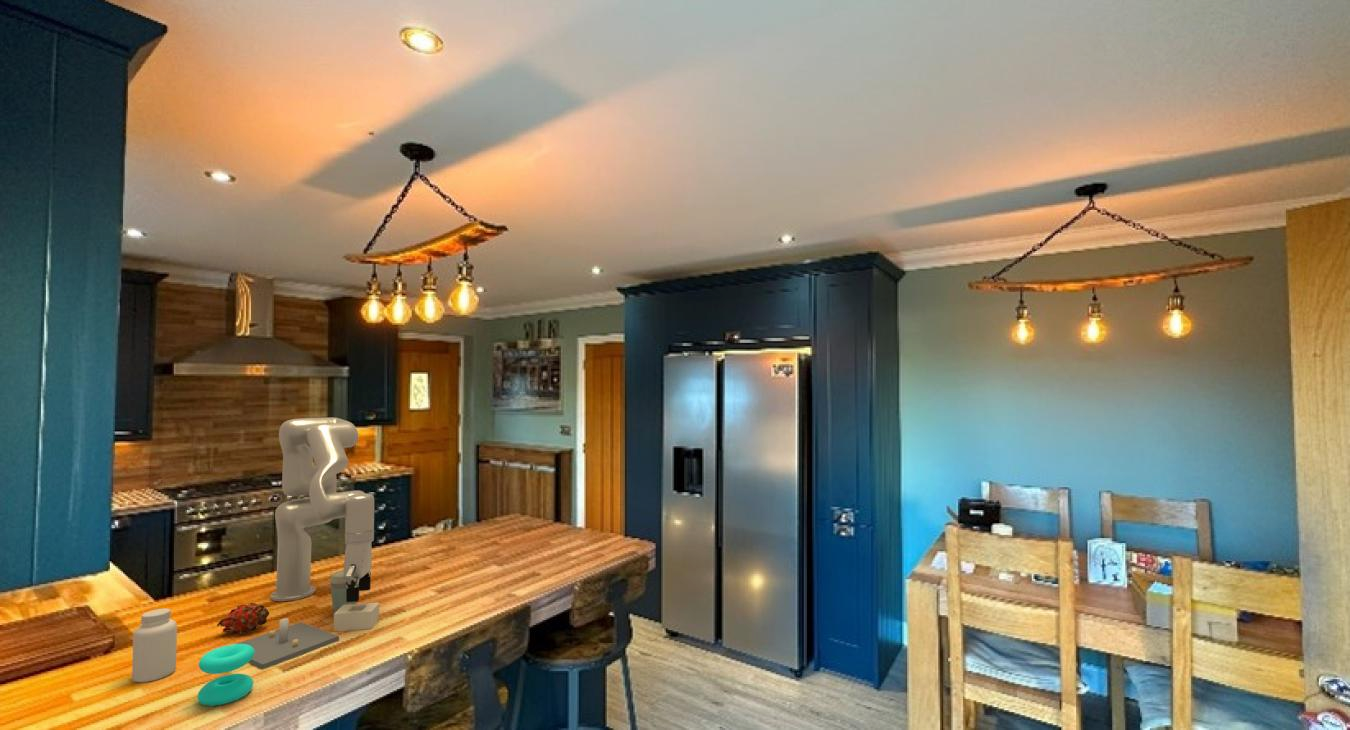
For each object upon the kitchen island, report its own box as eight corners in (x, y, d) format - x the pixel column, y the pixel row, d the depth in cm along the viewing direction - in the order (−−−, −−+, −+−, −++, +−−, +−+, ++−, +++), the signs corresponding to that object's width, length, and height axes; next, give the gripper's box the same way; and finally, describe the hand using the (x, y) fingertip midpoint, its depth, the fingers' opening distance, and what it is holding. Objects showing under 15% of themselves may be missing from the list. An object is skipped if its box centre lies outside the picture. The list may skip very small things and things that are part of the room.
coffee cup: (345, 618, 174) (346, 578, 175) (321, 616, 176) (322, 576, 177) (366, 608, 183) (367, 569, 183) (342, 605, 185) (343, 567, 185)
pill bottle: (149, 667, 144) (152, 606, 144) (184, 666, 144) (186, 605, 145) (122, 684, 136) (124, 619, 136) (158, 682, 136) (161, 618, 137)
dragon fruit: (272, 633, 167) (220, 649, 161) (271, 608, 173) (221, 623, 167) (268, 616, 163) (214, 632, 157) (267, 591, 168) (215, 605, 162)
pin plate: (225, 651, 152) (225, 624, 153) (300, 626, 169) (301, 601, 169) (262, 669, 143) (263, 640, 143) (339, 640, 160) (339, 614, 160)
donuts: (259, 638, 138) (247, 656, 128) (258, 681, 137) (246, 702, 128) (207, 646, 134) (191, 665, 125) (206, 690, 133) (190, 712, 124)
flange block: (333, 631, 165) (334, 613, 166) (342, 621, 172) (343, 604, 172) (371, 628, 167) (371, 611, 167) (378, 619, 174) (379, 602, 174)
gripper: (356, 530, 178) (355, 587, 177) (334, 544, 161) (333, 607, 160) (382, 529, 180) (381, 585, 179) (363, 543, 163) (362, 605, 162)
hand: (358, 595), depth 170 cm, fingers open, 9 cm apart
